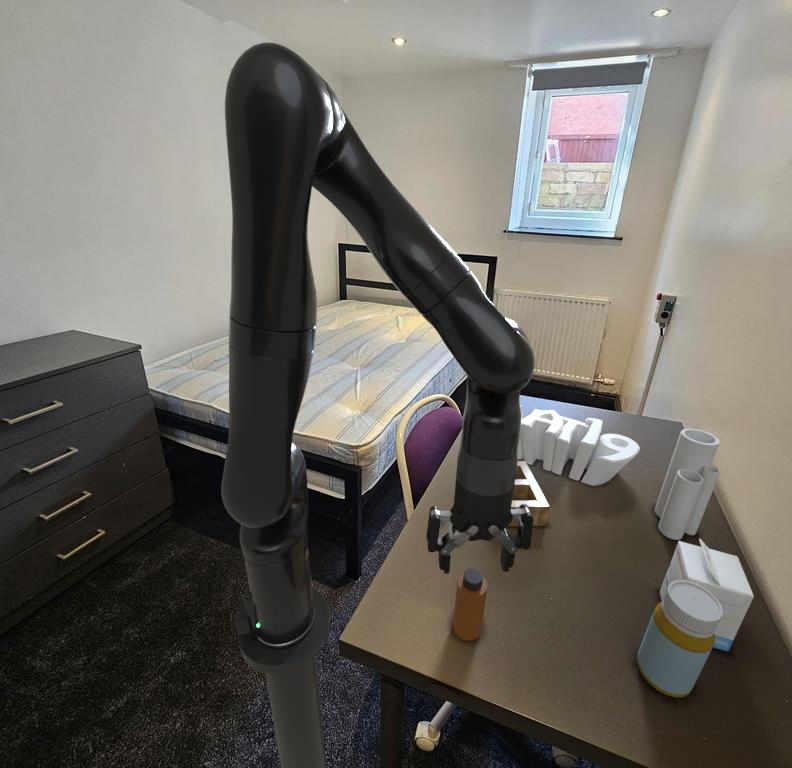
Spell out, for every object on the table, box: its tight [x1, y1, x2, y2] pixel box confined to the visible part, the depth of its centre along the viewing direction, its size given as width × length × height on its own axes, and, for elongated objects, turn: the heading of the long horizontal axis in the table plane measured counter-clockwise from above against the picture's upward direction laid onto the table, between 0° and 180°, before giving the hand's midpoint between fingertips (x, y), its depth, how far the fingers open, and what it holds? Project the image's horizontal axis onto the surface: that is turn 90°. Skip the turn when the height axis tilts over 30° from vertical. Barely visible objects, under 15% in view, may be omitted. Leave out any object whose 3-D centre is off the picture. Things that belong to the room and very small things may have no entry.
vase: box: [654, 428, 721, 541], centre depth 84 cm, size 11×7×20 cm, turn 160°
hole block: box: [507, 460, 551, 527], centre depth 92 cm, size 9×16×5 cm, turn 4°
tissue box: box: [659, 538, 755, 652], centre depth 64 cm, size 9×8×13 cm
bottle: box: [636, 580, 723, 698], centre depth 56 cm, size 7×7×15 cm
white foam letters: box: [517, 404, 640, 487], centre depth 108 cm, size 35×16×11 cm, turn 55°
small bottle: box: [452, 567, 488, 642], centre depth 62 cm, size 4×4×11 cm
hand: (474, 567), depth 59 cm, fingers open, 8 cm apart
